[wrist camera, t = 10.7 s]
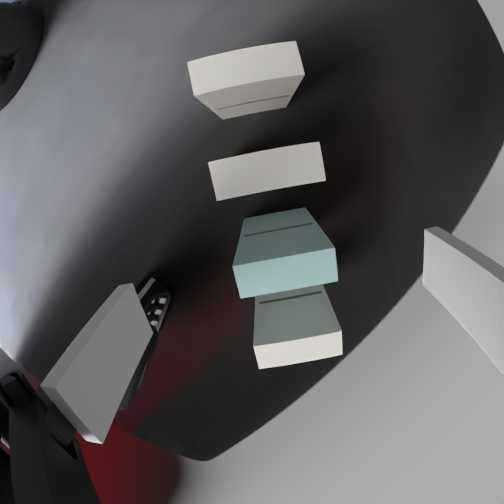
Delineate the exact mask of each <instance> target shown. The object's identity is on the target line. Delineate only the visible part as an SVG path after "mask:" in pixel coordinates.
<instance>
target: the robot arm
mask: <svg viewBox="0 0 504 504" xmlns="http://www.w3.org/2000/svg"><path fill="white" fill-rule="evenodd" d="M42 32H43V14H42V11H41V10H40V8H39V7H37V6H35V5H33V4H31V3H28V2H26V1H16V2H12V3H5V2H2V3H0V110H1V109H2V108H4V107H5V106H6V105H7V103H8V102H9V101H10V100H11V99H12V97H13V96H14V95H15V93H16V92H17V90H18V89H19V87H20V86H21V84H22V82H23V81H24V79H25V77H26V75H27V73H28V71H29V69H30V67H31V65H32V63H33V60H34V58H35V56H36V53H37V50H38V47H39V44H40V41H41V37H42ZM422 284H423V285H424V286H425V287H426V288H427V289H428V290H429V291H430V292H431V294H432V295H434V297H435V298H436V299H437V300H438V301H440V303H441V304H442V305H443V306H444V307H445V308H446V309H447V310H448V311H449V312H450V313H451V314H452V316H453V317H454V318H455V319H456V320H457V321H458V322H459V323H460V324H461V325H462V327H463V328H464V329H465V330H466V331H467V332H468V333H469V334H470V335H471V337H472V338H473V339H474V340H475V341H476V343H477V344H478V345H479V346H480V347H481V348H482V350H483V351H484V352H485V353H486V354H487V356H488V357H489V358H490V359H491V361H492V362H493V363H494V364H495V366H496V367H497V368H498V369H499V371H500V372H501V373H502V375H504V268H503V267H502V266H501V265H499V264H498V263H496V262H495V261H493V260H492V259H490V258H489V257H487V256H485V255H484V254H482V253H481V252H479V251H478V250H476V249H475V248H473V247H471V246H470V245H468V244H467V243H465V242H463V241H461V240H460V239H458V238H456V237H455V236H453V235H451V234H450V233H448V232H446V231H445V230H443V229H441V228H439V227H433V228H428V229H424V266H423V281H422ZM152 335H153V331H152V329H151V327H150V324H149V322H148V320H147V317H146V315H145V313H144V310H143V308H142V306H141V303H140V301H139V298H138V296H137V293H136V291H135V288H134V286H133V283H131V284H125V285H119V286H118V287H117V288H116V289H115V291H114V292H113V293H112V294H111V295H110V296H109V297H108V299H107V300H106V301H105V302H104V303H103V305H102V306H101V307H100V308H99V309H98V311H97V312H96V313H95V314H94V315H93V317H92V318H91V319H90V320H89V322H88V323H87V324H86V325H85V326H84V328H83V329H82V330H81V331H80V333H79V334H78V335H77V337H76V338H75V339H74V340H73V342H72V343H71V344H70V346H69V347H68V348H67V349H66V350H65V351H64V353H63V354H62V355H61V357H60V358H59V359H58V361H57V362H56V363H55V365H54V366H53V368H52V369H51V370H50V371H49V373H48V374H47V376H46V377H45V378H44V380H43V381H42V383H41V384H40V386H39V387H38V388H37V390H36V391H35V390H34V389H33V388H32V387H31V385H30V383H29V382H28V381H27V379H26V378H25V377H24V375H23V374H22V372H20V371H18V370H16V371H12V372H9V373H8V374H6V375H5V376H4V377H2V378H1V380H0V396H1V397H2V399H3V400H4V401H5V403H6V404H7V405H5V404H4V403H3V402H2V400H1V399H0V440H1V441H2V442H3V443H4V444H5V445H6V446H7V447H8V448H9V450H10V455H8V454H7V453H6V452H5V451H4V450H3V449H2V448H1V447H0V504H101V502H100V500H99V498H98V495H97V493H96V490H95V488H94V486H93V483H92V480H91V478H90V475H89V472H88V469H87V466H86V463H85V460H84V457H83V454H82V451H81V448H80V444H79V442H78V441H77V439H76V438H75V437H74V435H75V433H76V431H78V432H79V433H80V434H81V435H82V437H83V438H84V439H85V440H87V441H90V442H95V443H100V444H103V442H104V440H105V437H106V435H107V432H108V430H109V428H110V426H111V423H112V421H113V419H114V416H115V414H116V412H117V409H118V407H119V405H120V403H121V400H122V398H123V396H124V394H125V392H126V389H127V387H128V385H129V383H130V381H131V378H132V376H133V374H134V372H135V370H136V368H137V366H138V364H139V361H140V359H141V357H142V355H143V353H144V351H145V349H146V347H147V345H148V343H149V341H150V339H151V337H152Z"/></svg>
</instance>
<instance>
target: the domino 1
mask: <svg viewBox="0 0 504 504" xmlns="http://www.w3.org/2000/svg"><path fill="white" fill-rule="evenodd" d="M187 64H188V69H189V73H190V78H191V83H192V88H193V93H194V96H195V97H196V98H197V99H199V100H200V101H201V102H202V103H204V104H205V105H206V106H207V107H208V108H210V109H211V110H212V111H213V112H215V113H216V114H217V115H218V116H219V117H221V118H222V119H223V120H224V119H228V118H232V117H237V116H242V115H247V114H252V113H257V112H262V111H268V110H274V109H280V108H286V107H287V105H288V103H289V102H290V100H291V98H292V96H293V94H294V93H295V91H296V89H297V87H298V86H299V84H300V82H301V80H302V79H303V77H304V75H305V73H304V69H303V65H302V62H301V58H300V54H299V51H298V47H297V43H296V41H291V42H282V43H275V44H268V45H261V46H255V47H250V48H244V49H239V50H234V51H229V52H225V53H220V54H216V55H212V56H208V57H204V58H201V59H197V60H193V61H190V62H187Z"/></svg>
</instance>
